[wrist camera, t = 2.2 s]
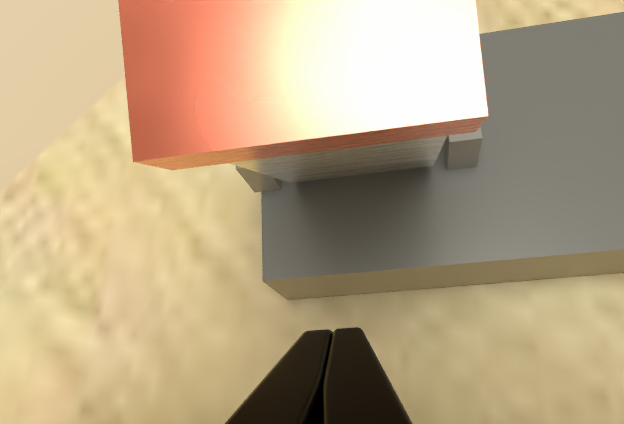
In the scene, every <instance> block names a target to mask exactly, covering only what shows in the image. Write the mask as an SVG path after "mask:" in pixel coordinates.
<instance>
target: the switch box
mask: <svg viewBox="0 0 624 424" xmlns="http://www.w3.org/2000/svg"><path fill="white" fill-rule="evenodd" d="M479 38H480V47H481V56H482V65H483V74H484V83H485V92H486V101H487V110H488V117H487V118H486V119H485V121H484V122H483V123H482V125H481V126H480V127H479V128H478V130H477V131H476V132H472V133H464V134H456V135H448V136H447V138H446V140H445V142H444V144H443V146H442V148H441V150H440V153H439V155H438V157H437V159H436V161H435V163H434V166H430V167H421V168H413V169H404V170H396V171H387V172H378V173H370V174H361V175H353V176H344V177H336V178H327V179H318V180H310V181H301V182H293V183H289V182H286V181H283V180H280V179H277V178H274V177H271V176H268V175H264V174H261V173H258V172H255V171H252V170H249V169H246V168H242V167H239V166H236V169H237V171H238V172H239V173H240V174H241V176H242V177H243V178H244V179H245V181H246V182H247V183H248V184H249V185H250V187H251V188H252V189H253V190H254V192H262V257H263V281H264V282H265V283H266V284H268V285H269V286H270V287H271V288H273V289H274V290H275V291H277V292H278V293H279V294H281V295H282V296H283V297H285V298H286V299H287V300H291V299H303V298H316V297H328V296H340V295H353V294H365V293H377V292H390V291H402V290H414V289H427V288H439V287H452V286H464V285H476V284H489V283H501V282H513V281H526V280H538V279H550V278H563V277H575V276H588V275H600V274H612V273H624V12H620V13H614V14H607V15H601V16H594V17H588V18H581V19H575V20H568V21H562V22H555V23H549V24H542V25H536V26H529V27H523V28H516V29H510V30H503V31H497V32H490V33H484V34H479Z"/></svg>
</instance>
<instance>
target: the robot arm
mask: <svg viewBox="0 0 624 424" xmlns="http://www.w3.org/2000/svg"><path fill="white" fill-rule="evenodd" d="M225 424H413V423H412V422H411V420H410V418H409V416H408V414H407V412H406V410H405V409H404V407H403V405H402V403H401V401H400V399H399V397H398V396H397V394H396V392H395V390H394V388H393V386H392V384H391V383H390V381H389V379H388V377H387V375H386V373H385V371H384V370H383V368H382V366H381V364H380V362H379V360H378V358H377V357H376V355H375V353H374V351H373V349H372V347H371V345H370V343H369V342H368V340H367V338H366V336H365V334H364V332H363V331H362V330H361V328H357V327H356V328H342V329H336V330H335V331H334V332H332V331H331V330H314V331H306V332H305V333H303V334H302V335H301V337H300V338H299V339H298V340H297V341H296V342H295V343H294V345H293V346H292V347H291V348H290V349H289V350H288V351H287V353H286V354H285V355H284V356H283V357H282V358H281V360H280V361H279V362H278V363H277V364H276V365H275V366H274V368H273V369H272V370H271V371H270V372H269V373H268V374H267V376H266V377H265V378H264V379H263V380H262V381H261V383H260V384H259V385H258V386H257V387H256V388H255V389H254V391H253V392H252V393H251V394H250V395H249V396H248V397H247V399H246V400H245V401H244V402H243V403H242V404H241V406H240V407H239V408H238V409H237V410H236V411H235V412H234V414H233V415H232V416H231V417H230V418H229V419H228V421H227V422H226V423H225Z"/></svg>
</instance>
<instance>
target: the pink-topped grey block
mask: <svg viewBox="0 0 624 424" xmlns="http://www.w3.org/2000/svg"><path fill="white" fill-rule="evenodd" d="M119 12H120V22H121V34H122V45H123V55H124V67H125V78H126V89H127V100H128V111H129V121H130V132H131V143H132V154H133V162H137V163H141V164H146V165H151V166H155V167H160V168H165V169H170V170H177V169H185V168H193V167H201V166H209V165H217V164H225V163H230V164H233V165H236V166H239V167H242V168H246V169H249V170H252V171H255V172H258V173H261V174H264V175H268V176H271V177H274V178H277V179H280V180H283V181H286V182H289V183H293V182H301V181H310V180H318V179H327V178H336V177H344V176H353V175H361V174H370V173H378V172H387V171H396V170H404V169H413V168H421V167H430V166H434V163H435V161H436V159H437V157H438V155H439V153H440V150H441V148H442V146H443V144H444V142H445V140H446V138H447V136H448V135H456V134H464V133H472V132H476V131H477V130H478V128H479V127H480V126H481V125H482V123H483V122H484V121H485V119H486V118H487V117H488V110H487V101H486V92H485V83H484V74H483V65H482V56H481V47H480V38H479V30H478V21H477V12H476V3H475V0H119Z"/></svg>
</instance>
